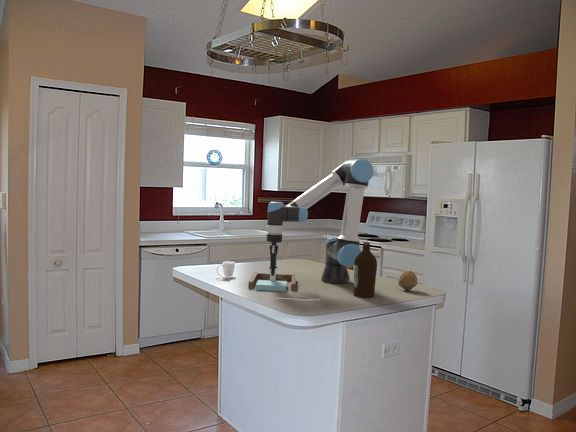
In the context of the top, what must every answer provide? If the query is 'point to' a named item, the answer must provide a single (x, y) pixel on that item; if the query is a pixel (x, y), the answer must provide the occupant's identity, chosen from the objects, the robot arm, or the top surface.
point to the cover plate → (271, 285)
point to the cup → (227, 269)
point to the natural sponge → (407, 280)
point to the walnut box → (279, 277)
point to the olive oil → (365, 273)
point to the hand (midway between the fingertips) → (272, 281)
